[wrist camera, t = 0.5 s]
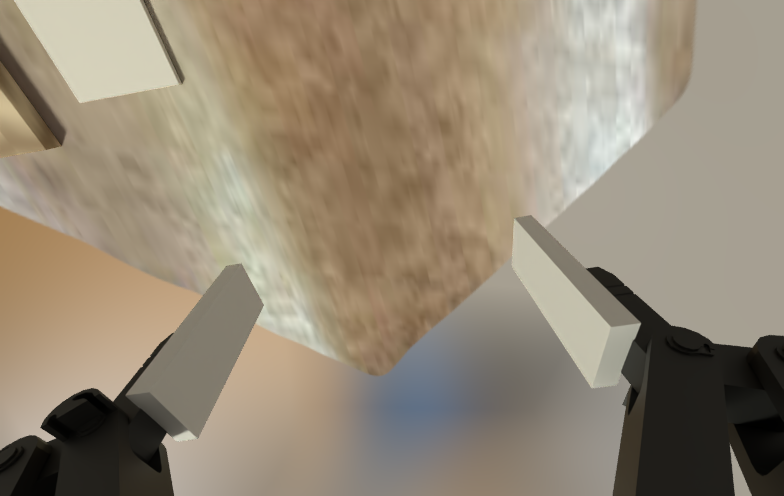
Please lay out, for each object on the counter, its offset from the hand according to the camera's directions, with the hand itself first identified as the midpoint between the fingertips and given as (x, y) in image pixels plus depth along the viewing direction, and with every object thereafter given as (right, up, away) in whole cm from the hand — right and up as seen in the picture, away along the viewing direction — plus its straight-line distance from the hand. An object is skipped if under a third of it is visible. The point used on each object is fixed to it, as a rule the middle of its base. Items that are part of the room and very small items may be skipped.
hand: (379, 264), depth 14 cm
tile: (-30, +24, +16) cm, 42 cm away
